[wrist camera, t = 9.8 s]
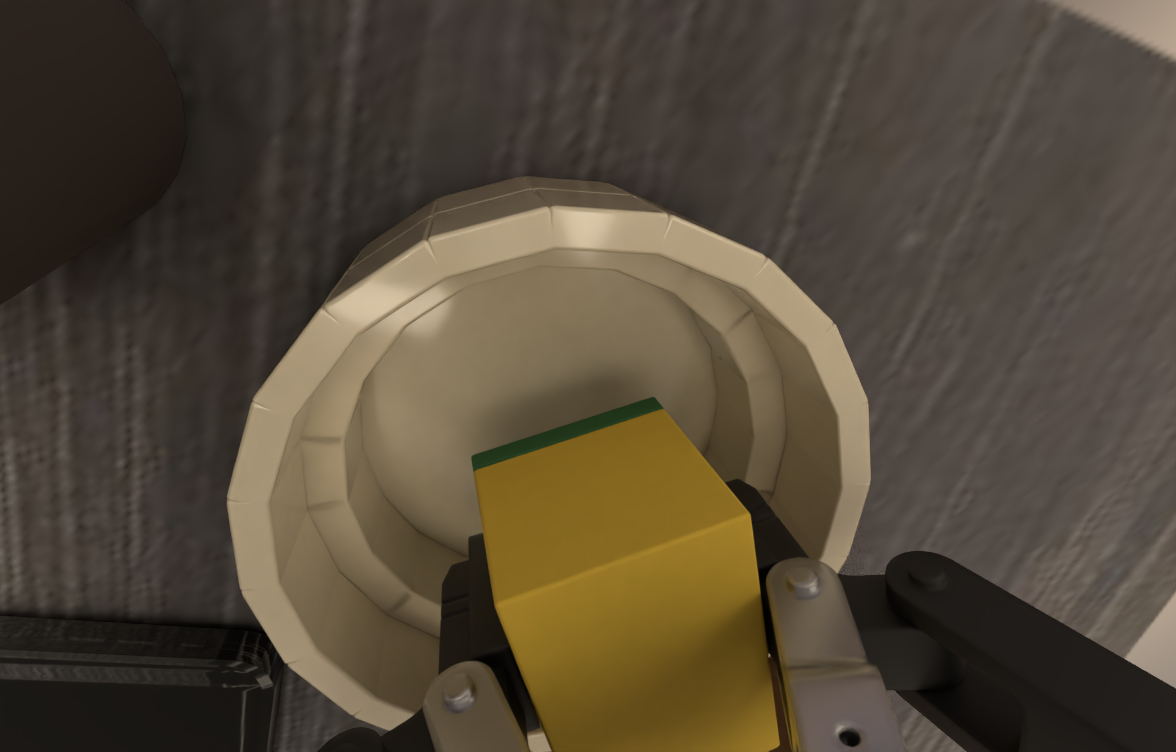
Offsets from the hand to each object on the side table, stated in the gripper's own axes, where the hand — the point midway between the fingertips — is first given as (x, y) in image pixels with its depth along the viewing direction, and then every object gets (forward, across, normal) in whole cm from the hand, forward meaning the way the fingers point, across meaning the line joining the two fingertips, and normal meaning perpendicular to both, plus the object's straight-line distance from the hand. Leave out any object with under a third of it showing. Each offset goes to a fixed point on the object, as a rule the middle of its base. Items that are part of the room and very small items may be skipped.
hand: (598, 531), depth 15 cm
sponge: (0, 0, 0) cm, 0 cm away
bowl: (+4, 0, -2) cm, 4 cm away
